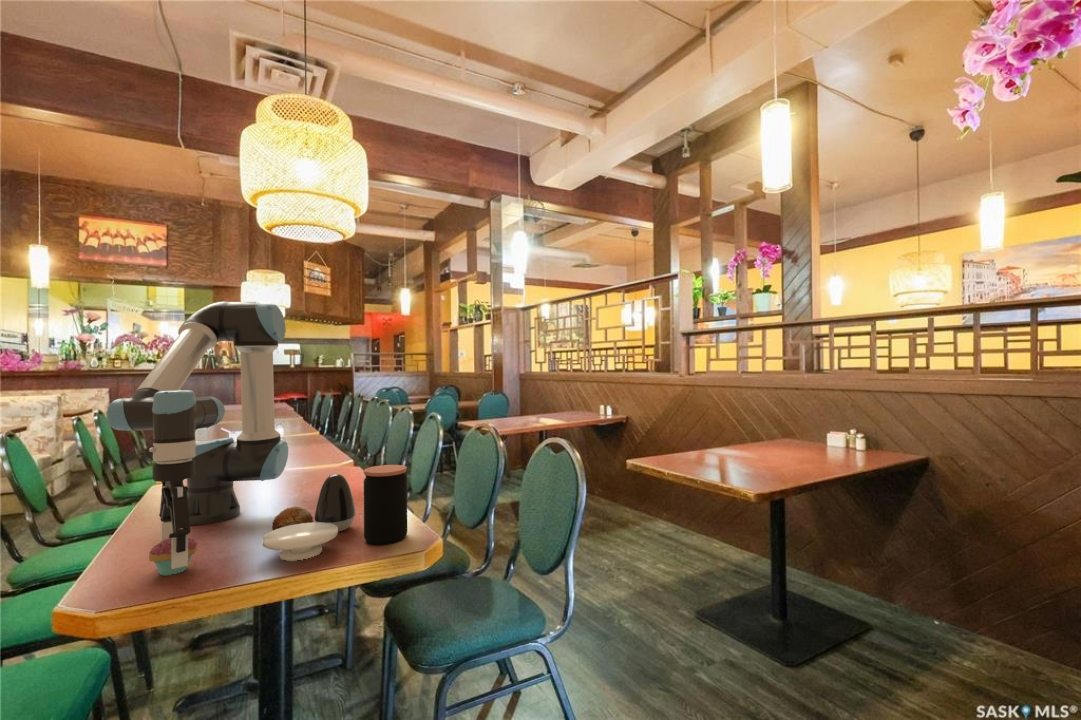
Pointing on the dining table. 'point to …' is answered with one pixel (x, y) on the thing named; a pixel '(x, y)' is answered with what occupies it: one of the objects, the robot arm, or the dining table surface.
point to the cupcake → (169, 556)
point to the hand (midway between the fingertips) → (173, 558)
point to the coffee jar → (385, 504)
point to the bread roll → (292, 517)
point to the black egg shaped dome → (335, 503)
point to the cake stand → (300, 540)
